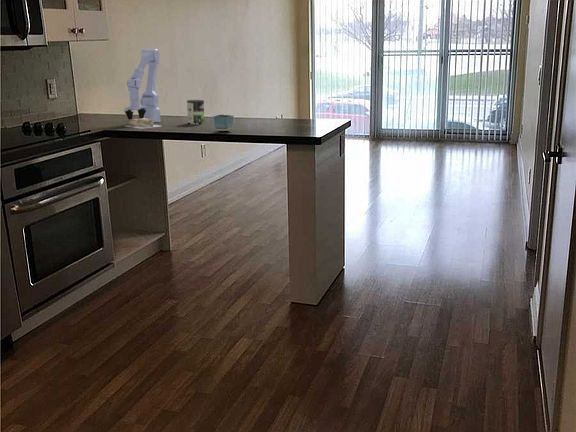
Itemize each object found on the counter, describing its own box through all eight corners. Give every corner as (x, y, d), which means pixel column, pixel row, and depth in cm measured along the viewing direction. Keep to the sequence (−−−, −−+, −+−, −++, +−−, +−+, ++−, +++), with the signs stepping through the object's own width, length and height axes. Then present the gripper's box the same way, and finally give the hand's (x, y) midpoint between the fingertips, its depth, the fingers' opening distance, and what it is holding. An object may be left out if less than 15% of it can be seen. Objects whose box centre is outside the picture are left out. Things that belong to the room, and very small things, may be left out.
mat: (145, 124, 367) (145, 123, 367) (163, 126, 358) (163, 126, 358) (124, 126, 355) (124, 126, 355) (141, 129, 346) (141, 128, 346)
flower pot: (234, 131, 342) (234, 115, 340) (227, 133, 334) (227, 117, 332) (220, 130, 345) (219, 114, 342) (213, 132, 337) (213, 116, 334)
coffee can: (206, 122, 376) (206, 100, 372) (201, 124, 366) (200, 101, 362) (191, 122, 378) (190, 99, 374) (185, 124, 368) (184, 100, 364)
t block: (145, 124, 364) (145, 117, 363) (158, 126, 357) (158, 119, 356) (129, 126, 355) (128, 119, 354) (142, 128, 348) (142, 121, 347)
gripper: (140, 98, 364) (141, 120, 368) (120, 99, 353) (121, 122, 357) (147, 98, 360) (148, 121, 364) (128, 100, 349) (129, 123, 353)
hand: (136, 122), depth 360 cm, fingers open, 7 cm apart
